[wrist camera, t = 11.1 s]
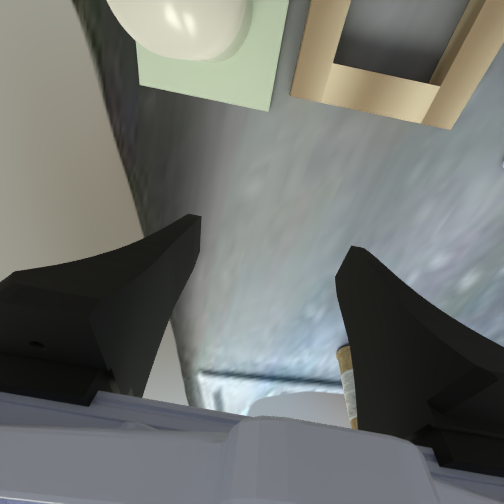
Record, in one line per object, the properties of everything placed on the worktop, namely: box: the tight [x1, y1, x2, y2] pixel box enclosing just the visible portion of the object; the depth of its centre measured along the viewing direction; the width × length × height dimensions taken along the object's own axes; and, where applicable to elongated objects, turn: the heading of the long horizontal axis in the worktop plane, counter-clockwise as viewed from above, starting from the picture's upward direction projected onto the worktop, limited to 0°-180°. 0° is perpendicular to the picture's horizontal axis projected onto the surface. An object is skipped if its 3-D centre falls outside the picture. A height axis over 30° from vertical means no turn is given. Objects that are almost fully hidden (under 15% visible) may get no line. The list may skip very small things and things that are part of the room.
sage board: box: [136, 0, 289, 112], centre depth 14 cm, size 9×9×1 cm
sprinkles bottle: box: [336, 345, 358, 430], centre depth 28 cm, size 5×5×13 cm
